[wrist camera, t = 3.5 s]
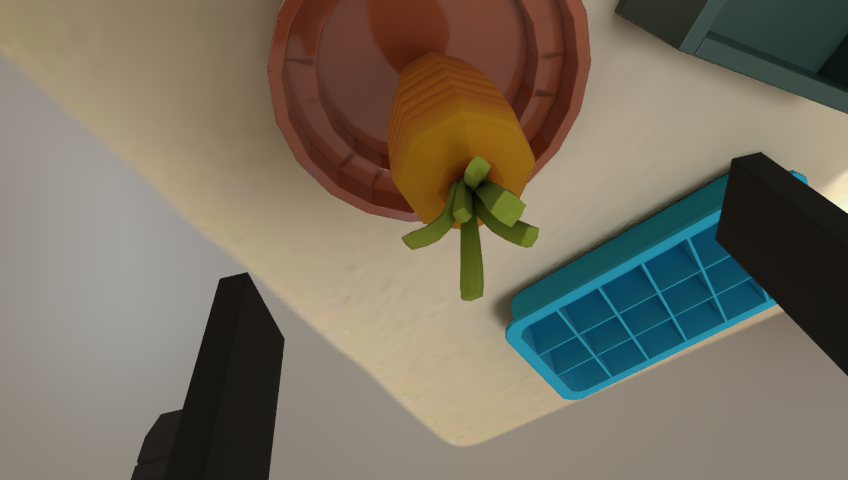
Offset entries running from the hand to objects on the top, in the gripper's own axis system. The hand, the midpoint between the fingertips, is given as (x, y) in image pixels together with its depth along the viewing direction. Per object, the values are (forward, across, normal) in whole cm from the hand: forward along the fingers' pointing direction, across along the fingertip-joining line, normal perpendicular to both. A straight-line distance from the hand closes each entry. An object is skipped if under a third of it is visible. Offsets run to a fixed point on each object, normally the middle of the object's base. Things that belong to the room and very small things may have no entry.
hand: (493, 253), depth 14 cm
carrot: (+15, 0, 0) cm, 15 cm away
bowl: (+15, 0, 0) cm, 15 cm away
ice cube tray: (+15, +13, -18) cm, 27 cm away
